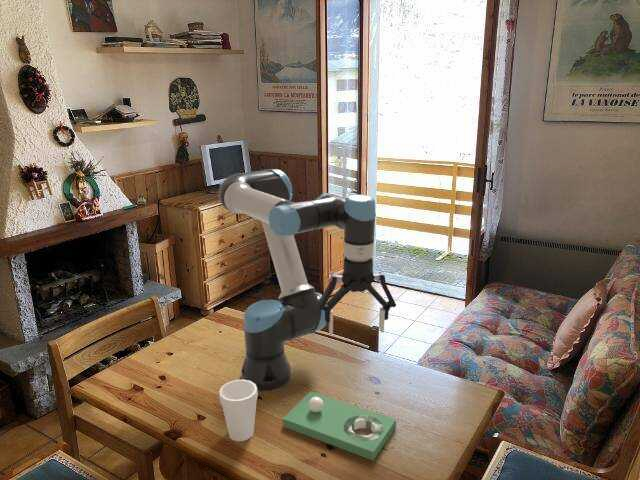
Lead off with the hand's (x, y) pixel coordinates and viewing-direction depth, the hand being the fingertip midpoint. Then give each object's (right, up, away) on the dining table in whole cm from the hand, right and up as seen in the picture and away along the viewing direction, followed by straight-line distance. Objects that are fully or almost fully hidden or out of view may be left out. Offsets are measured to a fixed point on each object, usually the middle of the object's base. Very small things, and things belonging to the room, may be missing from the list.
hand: (356, 331), depth 139 cm
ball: (-11, -19, 0) cm, 22 cm away
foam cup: (-30, -26, -4) cm, 40 cm away
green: (-5, -25, -2) cm, 25 cm away
